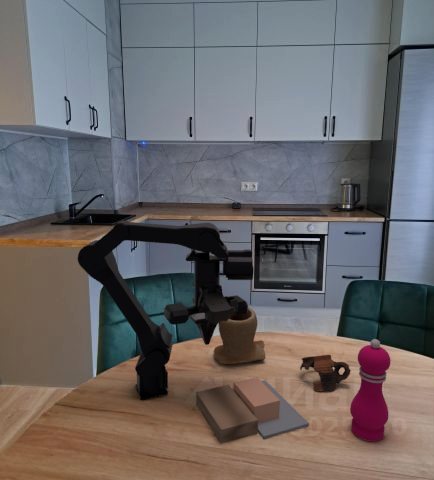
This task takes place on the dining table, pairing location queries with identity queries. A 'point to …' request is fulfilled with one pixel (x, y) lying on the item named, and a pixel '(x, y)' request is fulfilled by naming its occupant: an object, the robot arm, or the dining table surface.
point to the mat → (281, 418)
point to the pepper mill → (370, 393)
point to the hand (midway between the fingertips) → (206, 344)
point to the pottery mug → (326, 371)
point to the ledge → (226, 413)
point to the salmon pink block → (258, 399)
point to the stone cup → (239, 339)
